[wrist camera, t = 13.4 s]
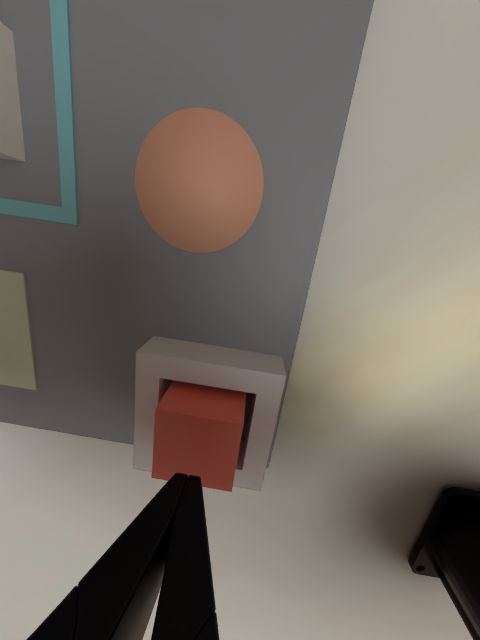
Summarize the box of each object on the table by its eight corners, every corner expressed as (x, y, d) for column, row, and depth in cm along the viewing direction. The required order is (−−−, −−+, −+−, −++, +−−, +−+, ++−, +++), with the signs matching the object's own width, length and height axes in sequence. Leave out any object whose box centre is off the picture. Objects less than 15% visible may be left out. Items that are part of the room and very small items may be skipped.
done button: (235, 451, 12) (231, 491, 10) (169, 439, 12) (151, 477, 10) (246, 392, 11) (243, 424, 9) (173, 380, 11) (155, 409, 9)
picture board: (267, 455, 14) (269, 500, 12) (-72, 397, 15) (-139, 428, 12) (391, -107, 8) (456, -277, 5) (-220, -176, 8) (-428, -360, 6)
